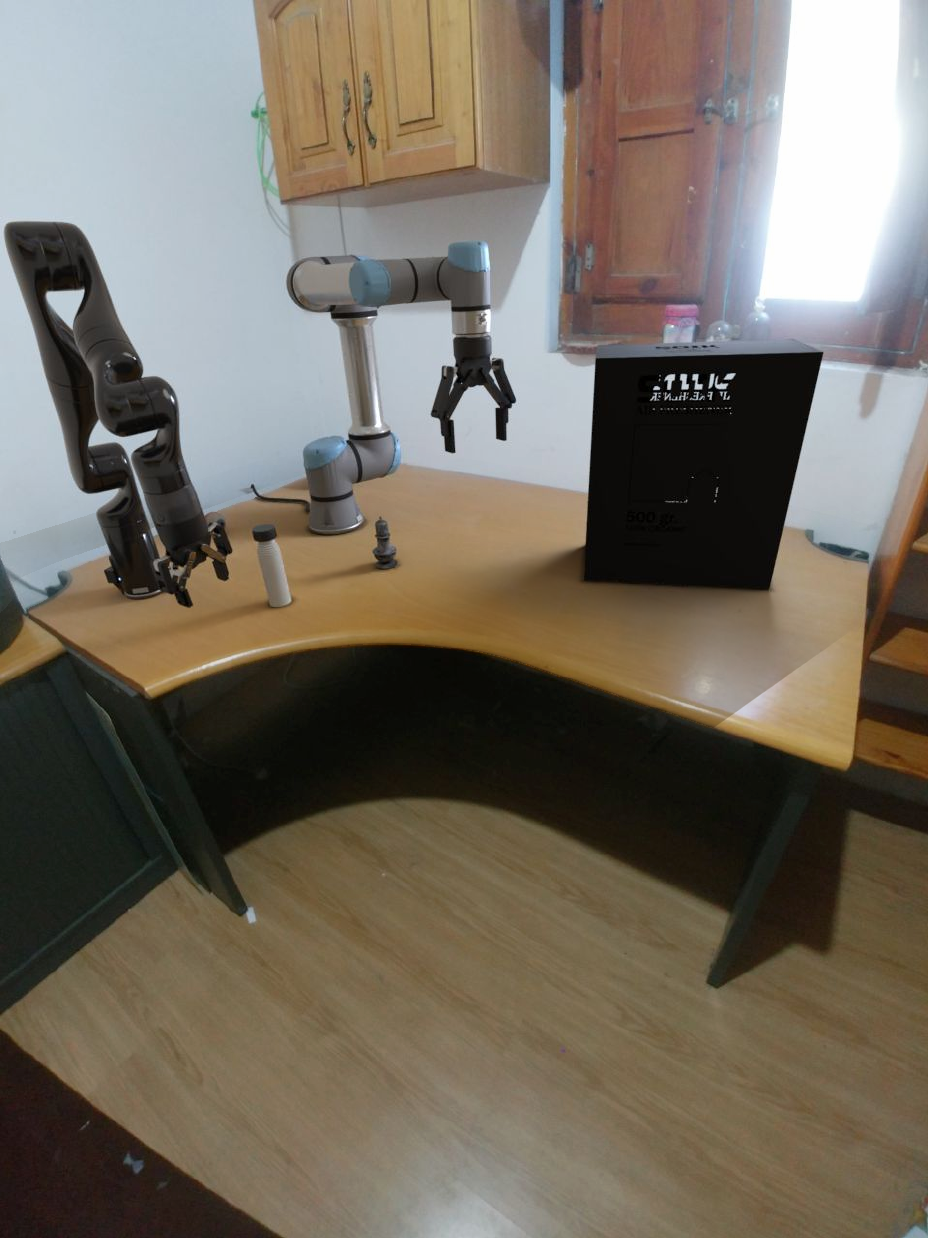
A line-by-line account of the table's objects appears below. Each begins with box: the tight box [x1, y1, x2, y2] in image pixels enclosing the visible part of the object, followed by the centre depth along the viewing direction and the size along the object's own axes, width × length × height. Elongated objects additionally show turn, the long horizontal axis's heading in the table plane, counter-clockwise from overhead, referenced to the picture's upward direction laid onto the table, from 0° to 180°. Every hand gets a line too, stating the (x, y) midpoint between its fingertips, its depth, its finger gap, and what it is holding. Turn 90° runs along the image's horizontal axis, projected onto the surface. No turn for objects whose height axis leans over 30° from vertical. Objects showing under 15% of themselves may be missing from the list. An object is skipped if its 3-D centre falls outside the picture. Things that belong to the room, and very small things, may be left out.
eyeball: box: [204, 511, 227, 530], centre depth 167 cm, size 6×6×6 cm
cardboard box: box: [583, 338, 824, 590], centre depth 125 cm, size 38×20×45 cm, turn 78°
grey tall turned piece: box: [371, 516, 398, 570], centre depth 142 cm, size 6×6×12 cm
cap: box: [251, 523, 278, 543], centre depth 123 cm, size 4×5×2 cm
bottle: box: [256, 539, 292, 608], centre depth 126 cm, size 5×5×17 cm
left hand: (205, 592), depth 106 cm, fingers open, 8 cm apart
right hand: (476, 445), depth 127 cm, fingers open, 13 cm apart
